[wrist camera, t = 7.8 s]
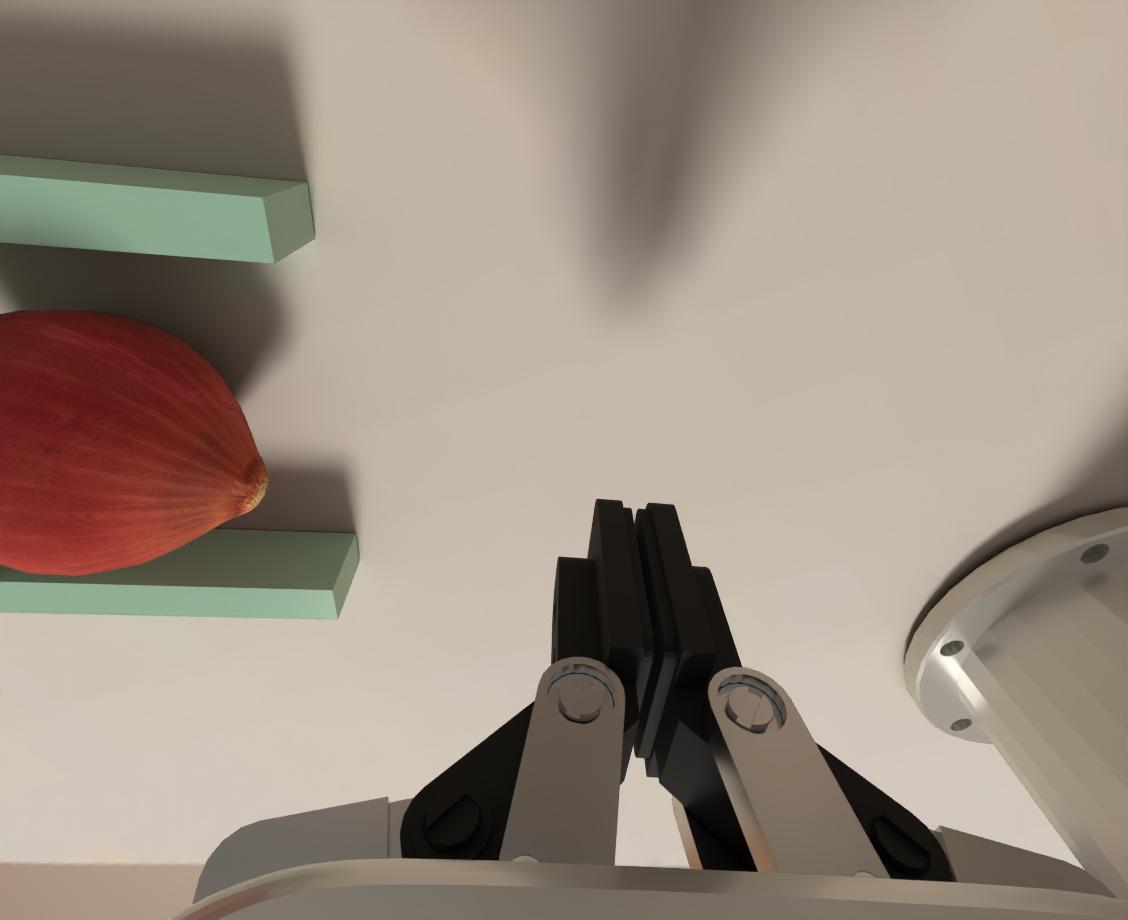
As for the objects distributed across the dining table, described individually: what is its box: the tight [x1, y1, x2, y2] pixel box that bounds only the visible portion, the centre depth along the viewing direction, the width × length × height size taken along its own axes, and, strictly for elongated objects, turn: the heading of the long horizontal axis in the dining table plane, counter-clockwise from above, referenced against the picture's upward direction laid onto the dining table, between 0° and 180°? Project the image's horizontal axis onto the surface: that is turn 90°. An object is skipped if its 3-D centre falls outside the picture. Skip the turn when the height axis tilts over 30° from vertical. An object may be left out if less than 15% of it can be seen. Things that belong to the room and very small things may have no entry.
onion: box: [0, 310, 269, 576], centre depth 13 cm, size 6×6×8 cm
